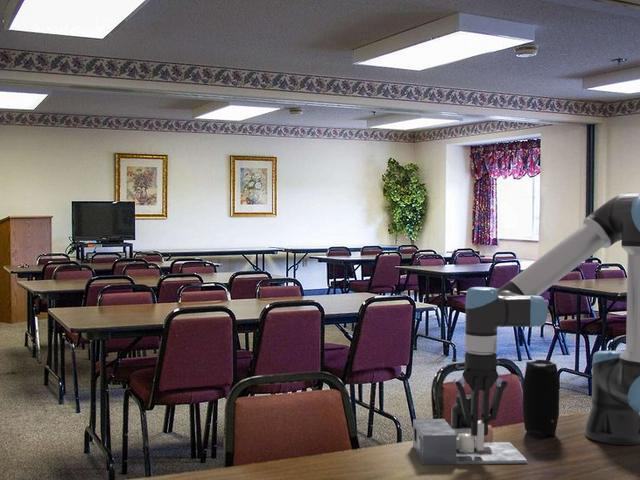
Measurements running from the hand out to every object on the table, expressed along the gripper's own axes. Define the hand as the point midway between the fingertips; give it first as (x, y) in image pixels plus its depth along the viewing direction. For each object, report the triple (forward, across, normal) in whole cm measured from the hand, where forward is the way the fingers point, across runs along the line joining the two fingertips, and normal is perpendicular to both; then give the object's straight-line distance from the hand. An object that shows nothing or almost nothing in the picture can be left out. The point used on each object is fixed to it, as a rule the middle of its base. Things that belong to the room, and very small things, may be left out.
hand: (479, 448), depth 184 cm
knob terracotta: (+1, +2, -7) cm, 7 cm away
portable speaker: (+3, -22, -20) cm, 29 cm away
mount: (+3, +2, -3) cm, 5 cm away
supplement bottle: (+3, 0, -14) cm, 14 cm away
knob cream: (+1, +8, 0) cm, 8 cm away
